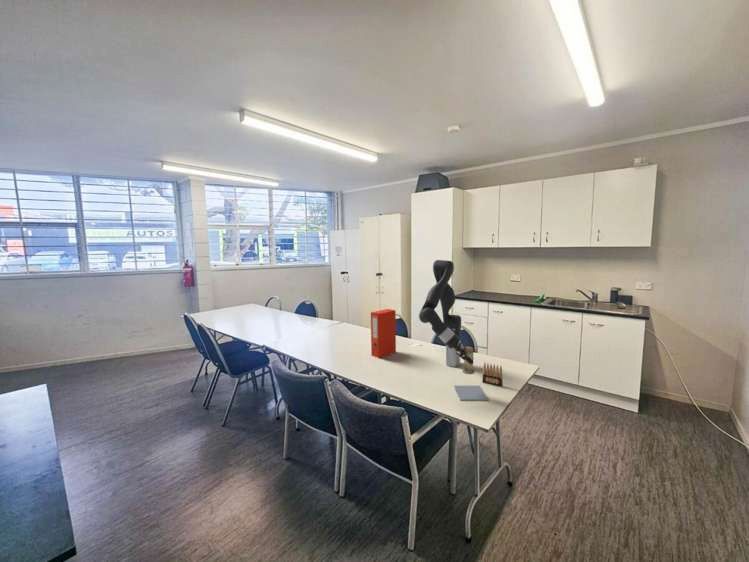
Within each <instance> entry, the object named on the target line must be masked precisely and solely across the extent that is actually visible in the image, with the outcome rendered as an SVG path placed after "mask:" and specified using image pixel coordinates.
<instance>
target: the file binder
mask: <svg viewBox="0 0 749 562" xmlns="http://www.w3.org/2000/svg"><path fill="white" fill-rule="evenodd" d="M396 318H397V317H396V310H395V309H392V308H386V309H385V308H384V309H382V310H376V311H372V312H370V342H371V343H370V345H371V346H370V347H371V348H370V349H371V351H370V353H371V356H372V357H374V356H375V358H376V357H378V358H377V359H380V357H381V358H383V356H384V357H386V356H385V355H387V356H390V355H392V354H391V353H393V354H395V353H394V352H397V337H396V336H397V335H396V334H397V332H396V331H397V330H396V327H397V326H396V323H397V322H396V321H397V319H396ZM389 354H390V355H389Z"/></svg>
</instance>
